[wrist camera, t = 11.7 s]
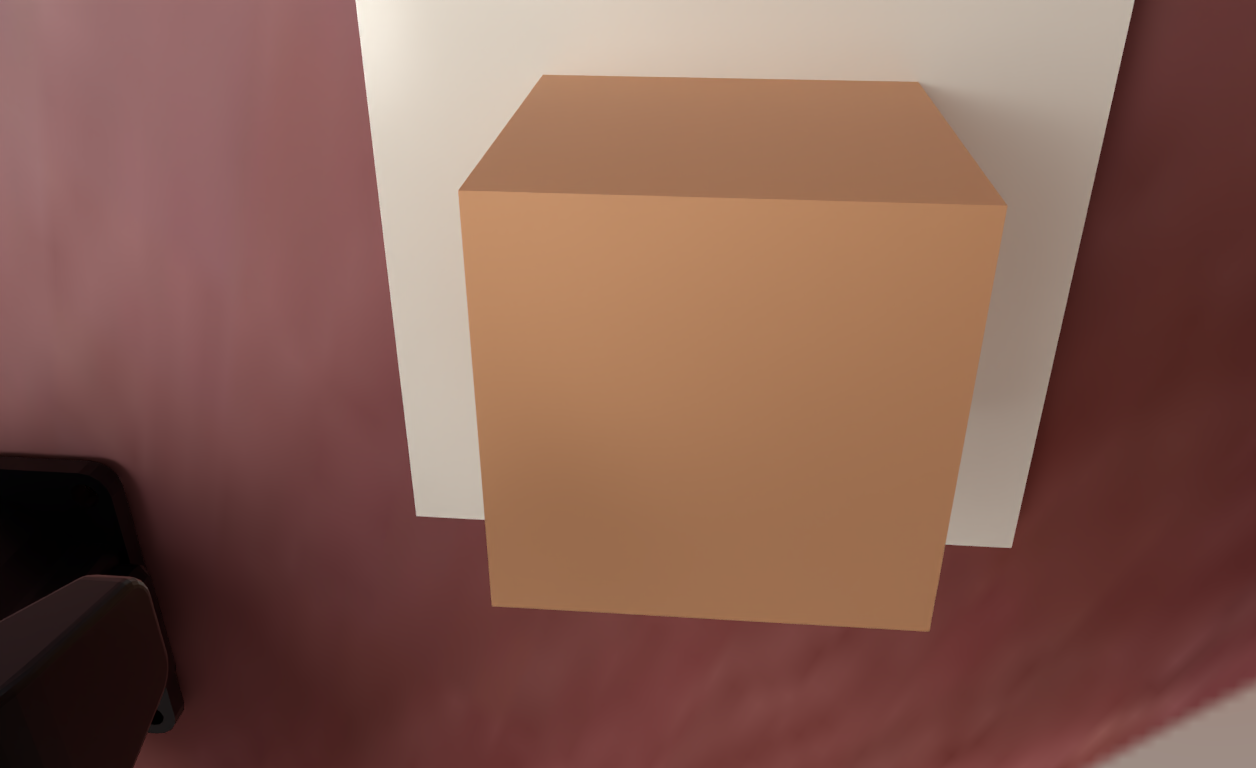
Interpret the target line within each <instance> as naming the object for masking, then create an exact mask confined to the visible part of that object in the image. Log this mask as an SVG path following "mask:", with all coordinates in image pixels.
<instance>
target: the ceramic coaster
mask: <svg viewBox="0 0 1256 768" xmlns="http://www.w3.org/2000/svg"><path fill="white" fill-rule="evenodd" d="M1134 1H1135V0H356V8H357V17H358V25H359V34H360V42H361V51H362V59H363V68H364V76H365V85H366V93H367V101H368V110H369V118H370V127H371V135H372V144H373V152H374V161H375V169H376V178H377V186H378V195H379V203H380V212H381V220H382V229H383V237H384V246H385V254H386V263H387V271H388V280H389V288H390V297H391V305H392V314H393V322H394V331H395V339H396V348H397V356H398V365H399V373H400V382H401V390H402V399H403V407H404V416H405V424H406V433H407V441H408V449H409V458H410V466H411V475H412V483H413V492H414V500H415V509H416V516H423V517H441V518H460V519H479V520H485V516H484V504H483V491H482V479H481V467H480V454H479V442H478V430H477V417H476V405H475V393H474V381H473V368H472V356H471V344H470V331H469V319H468V307H467V295H466V282H465V270H464V258H463V245H462V233H461V221H460V208H459V196H458V190H459V189H460V187H461V186H462V184H463V183H464V182H465V180H466V179H467V178H468V176H469V175H470V173H471V172H472V171H473V169H474V168H475V167H476V165H477V164H478V163H479V161H480V160H481V158H482V157H483V156H484V154H485V153H486V152H487V150H488V149H489V148H490V146H491V145H492V143H493V142H494V141H495V139H496V138H497V137H498V135H499V134H500V133H501V131H502V130H503V128H504V127H505V126H506V124H507V123H508V122H509V120H510V119H511V118H512V116H513V115H514V113H515V112H516V111H517V109H518V108H519V107H520V105H521V104H522V102H523V101H524V100H525V98H526V97H527V96H528V94H529V93H530V92H531V90H532V89H533V87H534V86H535V85H536V83H537V82H538V81H539V79H540V78H541V77H542V75H585V76H637V77H690V78H742V79H795V80H847V81H900V82H919V84H920V85H921V86H922V88H923V89H924V90H925V92H926V93H927V95H928V96H929V97H930V99H931V100H932V102H933V103H934V104H935V106H936V107H937V108H938V110H939V111H940V113H941V114H942V115H943V117H944V118H945V120H946V121H947V122H948V124H949V125H950V127H951V128H952V129H953V131H954V132H955V133H956V135H957V136H958V138H959V139H960V140H961V142H962V143H963V145H964V146H965V147H966V149H967V150H968V152H969V153H970V154H971V156H972V157H973V158H974V160H975V161H976V163H977V164H978V165H979V167H980V168H981V170H982V171H983V172H984V174H985V175H986V176H987V178H988V179H989V181H990V182H991V183H992V185H993V186H994V188H995V189H996V190H997V192H998V193H999V195H1000V196H1001V197H1002V199H1003V200H1004V201H1005V203H1006V204H1007V212H1006V217H1005V223H1004V228H1003V233H1002V239H1001V244H1000V250H999V255H998V261H997V266H996V272H995V277H994V282H993V288H992V293H991V299H990V304H989V310H988V315H987V321H986V326H985V331H984V337H983V342H982V348H981V353H980V359H979V364H978V369H977V375H976V380H975V386H974V391H973V397H972V402H971V408H970V413H969V418H968V424H967V429H966V435H965V440H964V446H963V451H962V457H961V462H960V467H959V473H958V478H957V484H956V489H955V495H954V500H953V506H952V511H951V516H950V522H949V527H948V533H947V538H946V544H945V545H964V546H982V547H1001V548H1012V543H1013V539H1014V534H1015V530H1016V526H1017V521H1018V517H1019V512H1020V508H1021V503H1022V499H1023V494H1024V490H1025V486H1026V481H1027V477H1028V472H1029V468H1030V463H1031V459H1032V454H1033V450H1034V445H1035V441H1036V437H1037V432H1038V428H1039V423H1040V419H1041V414H1042V410H1043V405H1044V401H1045V397H1046V392H1047V388H1048V383H1049V379H1050V374H1051V370H1052V365H1053V361H1054V357H1055V352H1056V348H1057V343H1058V339H1059V334H1060V330H1061V325H1062V321H1063V317H1064V312H1065V308H1066V303H1067V299H1068V294H1069V290H1070V285H1071V281H1072V277H1073V272H1074V268H1075V263H1076V259H1077V254H1078V250H1079V245H1080V241H1081V236H1082V232H1083V228H1084V223H1085V219H1086V214H1087V210H1088V205H1089V201H1090V196H1091V192H1092V188H1093V183H1094V179H1095V174H1096V170H1097V165H1098V161H1099V156H1100V152H1101V148H1102V143H1103V139H1104V134H1105V130H1106V125H1107V121H1108V116H1109V112H1110V108H1111V103H1112V99H1113V94H1114V90H1115V85H1116V81H1117V76H1118V72H1119V68H1120V63H1121V59H1122V54H1123V50H1124V45H1125V41H1126V36H1127V32H1128V28H1129V23H1130V19H1131V14H1132V10H1133V5H1134Z"/></svg>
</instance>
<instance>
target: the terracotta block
mask: <svg viewBox="0 0 1256 768" xmlns="http://www.w3.org/2000/svg"><path fill="white" fill-rule="evenodd" d="M458 196H459V208H460V221H461V233H462V245H463V258H464V270H465V282H466V295H467V307H468V319H469V331H470V344H471V356H472V368H473V381H474V393H475V405H476V417H477V430H478V442H479V454H480V467H481V479H482V491H483V504H484V516H485V528H486V540H487V553H488V565H489V577H490V590H491V602H492V606H498V607H515V608H532V609H550V610H567V611H584V612H601V613H618V614H635V615H652V616H669V617H687V618H704V619H721V620H738V621H755V622H772V623H789V624H806V625H823V626H841V627H858V628H875V629H892V630H909V631H926V632H929V631H930V625H931V620H932V614H933V609H934V603H935V598H936V593H937V587H938V582H939V576H940V571H941V565H942V560H943V555H944V549H945V544H946V538H947V533H948V527H949V522H950V516H951V511H952V506H953V500H954V495H955V489H956V484H957V478H958V473H959V467H960V462H961V457H962V451H963V446H964V440H965V435H966V429H967V424H968V418H969V413H970V408H971V402H972V397H973V391H974V386H975V380H976V375H977V369H978V364H979V359H980V353H981V348H982V342H983V337H984V331H985V326H986V321H987V315H988V310H989V304H990V299H991V293H992V288H993V282H994V277H995V272H996V266H997V261H998V255H999V250H1000V244H1001V239H1002V233H1003V228H1004V223H1005V217H1006V212H1007V204H1006V203H1005V201H1004V200H1003V199H1002V197H1001V196H1000V195H999V193H998V192H997V190H996V189H995V188H994V186H993V185H992V183H991V182H990V181H989V179H988V178H987V176H986V175H985V174H984V172H983V171H982V170H981V168H980V167H979V165H978V164H977V163H976V161H975V160H974V158H973V157H972V156H971V154H970V153H969V152H968V150H967V149H966V147H965V146H964V145H963V143H962V142H961V140H960V139H959V138H958V136H957V135H956V133H955V132H954V131H953V129H952V128H951V127H950V125H949V124H948V122H947V121H946V120H945V118H944V117H943V115H942V114H941V113H940V111H939V110H938V108H937V107H936V106H935V104H934V103H933V102H932V100H931V99H930V97H929V96H928V95H927V93H926V92H925V90H924V89H923V88H922V86H921V85H920V84H919V82H900V81H847V80H795V79H742V78H690V77H637V76H585V75H542V77H541V78H540V79H539V81H538V82H537V83H536V85H535V86H534V87H533V89H532V90H531V92H530V93H529V94H528V96H527V97H526V98H525V100H524V101H523V102H522V104H521V105H520V107H519V108H518V109H517V111H516V112H515V113H514V115H513V116H512V118H511V119H510V120H509V122H508V123H507V124H506V126H505V127H504V128H503V130H502V131H501V133H500V134H499V135H498V137H497V138H496V139H495V141H494V142H493V143H492V145H491V146H490V148H489V149H488V150H487V152H486V153H485V154H484V156H483V157H482V158H481V160H480V161H479V163H478V164H477V165H476V167H475V168H474V169H473V171H472V172H471V173H470V175H469V176H468V178H467V179H466V180H465V182H464V183H463V184H462V186H461V187H460V189H459V190H458Z"/></svg>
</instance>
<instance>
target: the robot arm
mask: <svg viewBox="0 0 1256 768" xmlns="http://www.w3.org/2000/svg"><path fill="white" fill-rule="evenodd" d="M85 485H86V486H89V487H90V488H92V489H93V490H95V492H96V493H97V494H93V493H92V492H90V491H89V490H88V489H87V488H86V487H85ZM175 671H176V665H175V662H174V658H173V655H172V651H171V647H170V644H169V640H168V637H167V633H166V630H165V626H164V622H163V619H162V615H161V612H160V608H159V604H158V601H157V597H156V594H155V590H154V586H153V583H152V579H151V577H150V575H149V574H148V572H147V570H146V566H145V563H144V559H143V555H142V552H141V548H140V545H139V541H138V538H137V534H136V530H135V527H134V523H133V520H132V516H131V513H130V509H129V505H128V502H127V498H126V495H125V491H124V488H123V485H122V483H121V481H120V479H119V477H118V476H117V475H116V474H115V473H114V472H113V471H112V470H111V469H110V468H108V467H107V466H105V465H103V464H101V463H97V462H92V461H80V460H60V459H41V458H21V457H1V456H0V768H133V767H134V765H135V762H136V760H137V757H138V755H139V752H140V750H141V747H142V745H143V742H144V740H145V737H146V735H147V733H165V732H167V731H169V730H171V729H172V728H173V726H174V725H175V723H176V722H177V720H178V718H179V717H180V715H181V713H182V712H183V710H184V702H183V698H182V695H181V691H180V688H179V684H178V680H177V677H176V673H175Z"/></svg>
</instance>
